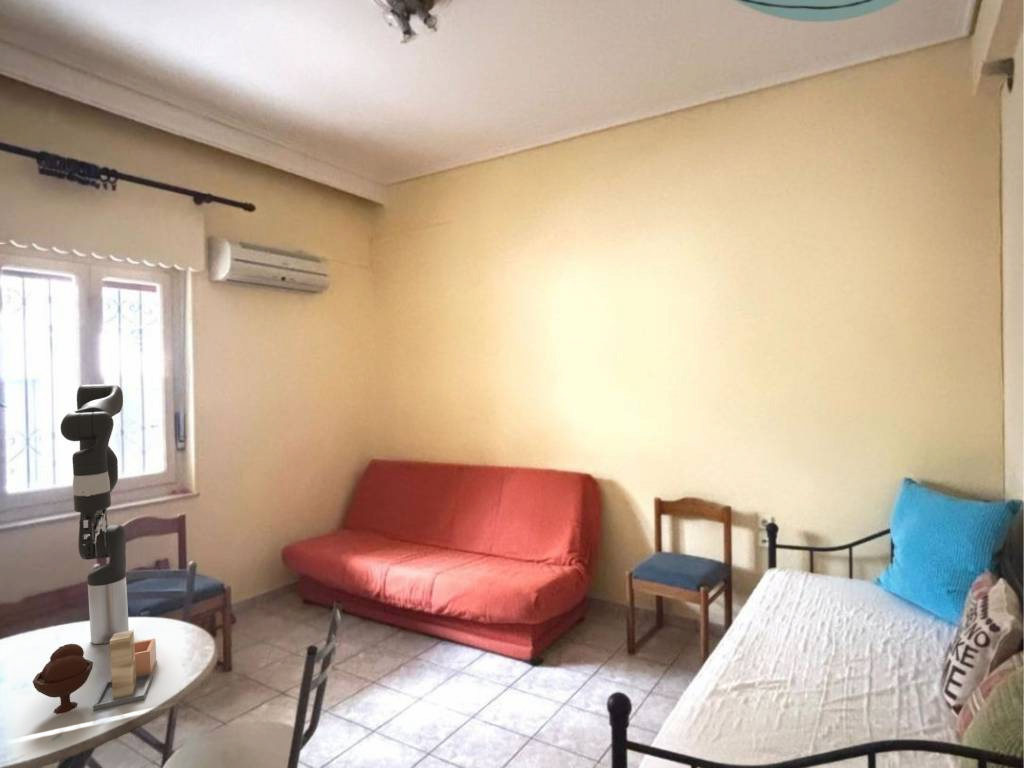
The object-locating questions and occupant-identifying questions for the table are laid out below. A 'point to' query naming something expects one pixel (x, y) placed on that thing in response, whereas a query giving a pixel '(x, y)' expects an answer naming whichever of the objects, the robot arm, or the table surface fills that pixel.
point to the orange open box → (145, 656)
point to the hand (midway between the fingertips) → (95, 553)
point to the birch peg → (123, 664)
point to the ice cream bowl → (64, 675)
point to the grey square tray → (108, 701)
